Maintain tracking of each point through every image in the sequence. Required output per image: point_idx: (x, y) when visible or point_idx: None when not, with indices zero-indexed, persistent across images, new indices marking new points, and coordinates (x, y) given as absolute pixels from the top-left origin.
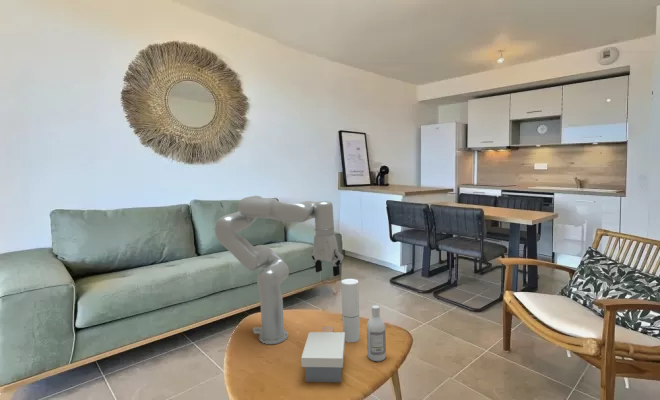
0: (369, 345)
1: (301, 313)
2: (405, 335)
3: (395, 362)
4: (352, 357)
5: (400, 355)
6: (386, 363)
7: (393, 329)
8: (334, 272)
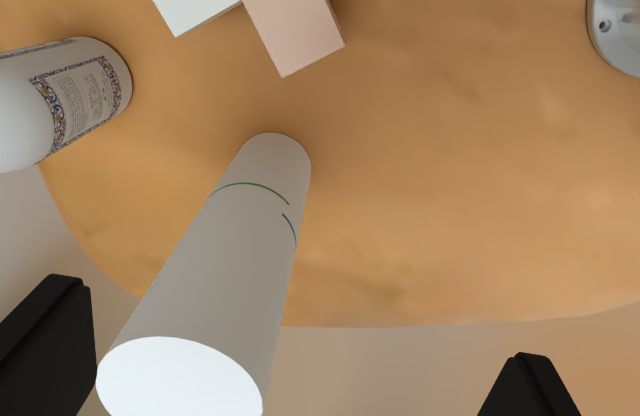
0: (61, 49)
1: (614, 273)
2: (104, 272)
3: None
4: None
5: None
6: None
7: None
8: (3, 328)
